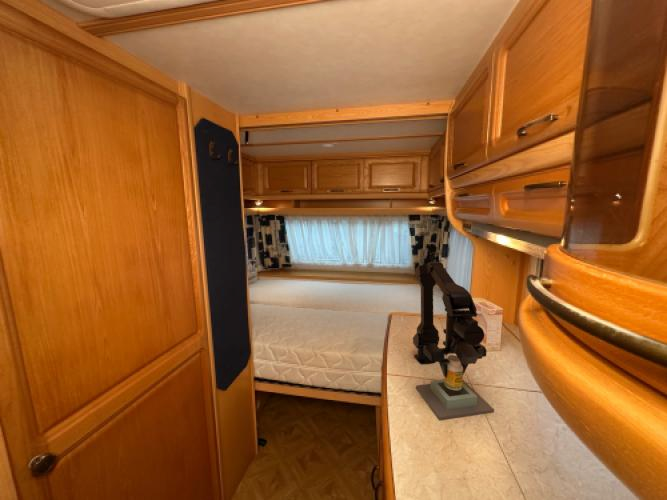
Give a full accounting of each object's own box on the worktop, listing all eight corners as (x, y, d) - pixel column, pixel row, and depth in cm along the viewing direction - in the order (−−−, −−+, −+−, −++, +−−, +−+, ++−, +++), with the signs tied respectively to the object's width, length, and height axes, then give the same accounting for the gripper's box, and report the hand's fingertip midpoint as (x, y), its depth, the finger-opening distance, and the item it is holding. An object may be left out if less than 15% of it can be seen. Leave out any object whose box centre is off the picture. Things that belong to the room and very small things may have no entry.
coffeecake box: (465, 336, 133) (468, 297, 130) (480, 335, 133) (482, 297, 130) (485, 351, 118) (487, 308, 115) (500, 351, 118) (503, 308, 116)
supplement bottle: (450, 378, 91) (451, 352, 90) (465, 387, 87) (467, 359, 86) (440, 384, 88) (441, 356, 87) (455, 393, 84) (457, 364, 83)
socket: (415, 388, 94) (416, 377, 94) (462, 382, 97) (463, 371, 97) (439, 420, 80) (439, 408, 79) (493, 412, 82) (494, 400, 82)
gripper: (442, 344, 76) (440, 395, 78) (501, 338, 79) (497, 387, 81) (423, 327, 87) (421, 373, 89) (475, 323, 90) (473, 367, 92)
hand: (453, 375), depth 87 cm, fingers closed on supplement bottle, 5 cm apart
